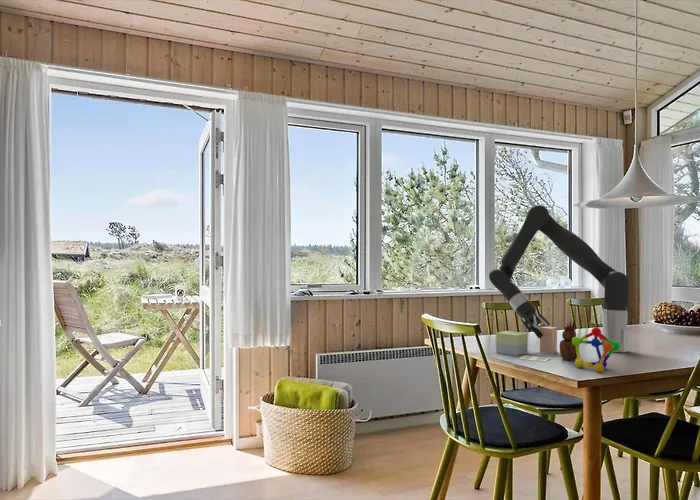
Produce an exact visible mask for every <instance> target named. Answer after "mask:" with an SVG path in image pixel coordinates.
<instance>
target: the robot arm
mask: <svg viewBox="0 0 700 500" xmlns="http://www.w3.org/2000/svg"><path fill="white" fill-rule="evenodd" d="M538 231H539V232H541V233H542V234H543V235H545V236H546V237H547V238H548V239H549V240H550V241H551V242H552V243H553V244H554V245H555V246H556V247H557V249H559V250H560V251H561V252H562V253H563V255H565V256H566V257H567V258H569V259H570V260H571V261H573V263H575V264H576V265H578V266H580V267H581V268H582V269H583V270H585V271H586V272H588V273H589V274H590V275H591V276H592V277H594V279H595V280H596V281H598V283H599V284H600V285H601V286H602V287H603V288H604V295H603V296H604V297H603V298H604V299H603V302H602V335H604V336H605V337H606V338H608V339H609V340H610V341H611V342H618V343H619V344H620V348H619V350H617V351H613V352H612V353H627V352H629V346H630V345H629V344H630V343H629V340H630V339H629V338H630V337H629V335H630V334H629V333H630V332H629V328H628V304H629V302H630V301H629V297H630V280H629V278H628V276H627V275H626V274H625V273H623V272H620V271H618V270H616V269H614V268H613V267H612V266H609V264H607V263H606V262H604V261H603V260H602V259H601V257H600V256H599V255H598V254H597V252H595V250H594V249H593V248H592V247H591V246H590V245H589V244H588V243H587V242H585V241H584V240H583V239H582V238H581V237H580V236H578V235H577V234H575V233H574V232H572V231H570V230H569V229H567V228H565V226H563V225H561V224H560V223H558V222H557V221H556V220H555V218H553V217H552V216H551V215H550V213H549V211H548V209H547V208H546V207H545V206H543V205H540V204H537V205H533V206H531V207H529V209H528V210H527V211H526V216H525V218H524V222H523V224H522V226H521V228H520V230H519V231H518V232H517V235H516V236H515V237H514V239H513V240H512V242H511V243H510V245H509V246H508V247H507V249H506V250H505V252H504V254H503V256H502V257H501V259H500V262H501V265H500V267H499V268H494V269H492V270H491V271H490V272H489V273H488V274H489V275H488V278H489V281H490V283H491V284H492V285H493V286H494V287H495V289H497V290H498V292H500V293H501V294H502V295H503V297H504V298H505V299H506V301H507V302H508V303H509V305H510V307H511V308H512V310H513V311H514V312H515V313H516V314H517V316H518V317H519V318H520V321H521V322H522V324H523V325H524V326H525V328H526V329H527V330H528V331H531V332H533V333H534V334H535V336H536V337H537V339H540V338H541V337H542V336H543V334H542V333H541V332H540V327H545V326H547V327H550V325H551V322H549V321H548V320H547V318H546V317H545V316H544V315H543V314H542V313H540V314H537V313H536V312H537V308H536V306H535V305H534V304H532V302H531V301H530V299H529V298H528V297H527V296H526V295H525V294H524V293H523V292H522V290H520V288H519V287H518V286H517V285H516V284H514V283H513V281H511V280H512V278H513V275H514V272H515V270H516V267H517V265H518V264H519V263H520V261H521V260H522V257H523V256H524V254H525V252H526V250H527V249H528V247H529V245H530V243H531V241H532V240H533V238H534V237H535V235H536V234H537V233H538ZM606 342H607V341H606ZM601 347H603V345H601ZM602 350H603V351H604V349H603V348H602Z"/></svg>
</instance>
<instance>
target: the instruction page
mask: <svg viewBox="0 0 700 500" xmlns="http://www.w3.org/2000/svg"><path fill="white" fill-rule="evenodd" d="M551 359H552V358H551V357H545V356H543V357H542V356H536V355H526V354H523V355H522V356H520V357H518V360H525V361H526V360H527V361H534V362H543V363H546V362H548V361H550V360H551Z"/></svg>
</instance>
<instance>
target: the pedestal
mask: <svg viewBox="0 0 700 500" xmlns="http://www.w3.org/2000/svg"><path fill="white" fill-rule="evenodd" d="M528 335H529V334H528V333H527V332H519V331H511V330H503V331H499V332H496V335H495V336H496V337H495V338H496V339H495V341H496V342H495V353H496V354H502V355H509V356H515V357H518V356H521V355H522V356H523V355H526V354H528Z"/></svg>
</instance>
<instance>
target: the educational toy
mask: <svg viewBox="0 0 700 500" xmlns="http://www.w3.org/2000/svg"><path fill="white" fill-rule="evenodd" d="M591 336H594V338H592V339H591V340H586V339H588V338H589V337H591ZM606 341H607V342H606ZM572 344H573V345H575V347H576V353H577V358H576V360H574V364H575V367H577V368H578V369H581V368H583V367H587V368H590V369H591V368H592V369H594V371H596V373H602V372H604V370H605V368H606V367H607V364H608V362H607V361H608V359H609V357H611V355H612V354H613V353H614V352H613V351H617V350H619V348H620V344H619V343H618V342H611V341H610V340H609V339H608V338H606V337H605V336H604V335H603V333H602V330H601V328H599V327H597V326H596V327H593V328H592V329H591V332H589V333H587V334H584V335H583V336H581V337H578V336H576V337H574V338H572ZM580 344H587V345H588V344H589V345H591V346H592V347H594V348H595V349H596V354H597V356H598V360H597V361H596V362H595V361H594V362H593V361H584V360H583V359H581V355H580V348H579V347H580ZM578 345H579V346H578ZM602 345H603V346H602ZM600 346H602V350H603V349H604V350H603V353H602V352H601V350H600ZM601 353H602V354H601Z"/></svg>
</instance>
